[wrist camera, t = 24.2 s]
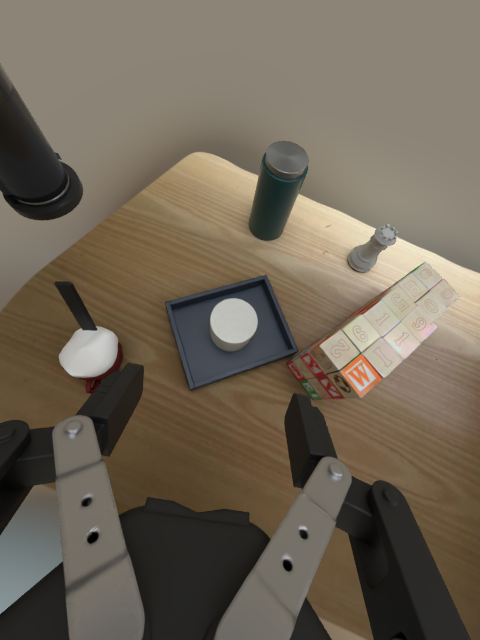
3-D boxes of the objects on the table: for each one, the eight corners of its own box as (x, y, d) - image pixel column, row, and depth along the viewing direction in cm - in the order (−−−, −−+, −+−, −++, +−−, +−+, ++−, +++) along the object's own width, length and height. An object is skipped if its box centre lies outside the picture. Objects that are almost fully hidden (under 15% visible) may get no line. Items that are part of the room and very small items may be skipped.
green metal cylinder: (256, 244, 43) (274, 178, 31) (243, 215, 45) (256, 142, 32) (288, 236, 44) (318, 170, 32) (275, 208, 46) (299, 135, 34)
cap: (217, 357, 36) (218, 349, 31) (204, 318, 37) (204, 305, 33) (257, 344, 37) (264, 335, 32) (243, 306, 39) (248, 292, 34)
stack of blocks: (382, 290, 43) (447, 246, 31) (409, 320, 42) (487, 286, 30) (284, 364, 37) (319, 344, 25) (312, 401, 36) (362, 398, 24)
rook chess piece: (346, 248, 45) (374, 215, 37) (371, 253, 45) (404, 222, 38) (346, 270, 43) (374, 241, 36) (371, 275, 44) (405, 248, 36)
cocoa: (109, 398, 33) (57, 393, 22) (63, 380, 33) (-12, 366, 22) (144, 332, 36) (114, 298, 25) (102, 316, 36) (54, 274, 25)
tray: (191, 390, 35) (189, 389, 32) (167, 308, 38) (164, 302, 35) (293, 354, 38) (298, 351, 35) (263, 282, 41) (266, 274, 39)
